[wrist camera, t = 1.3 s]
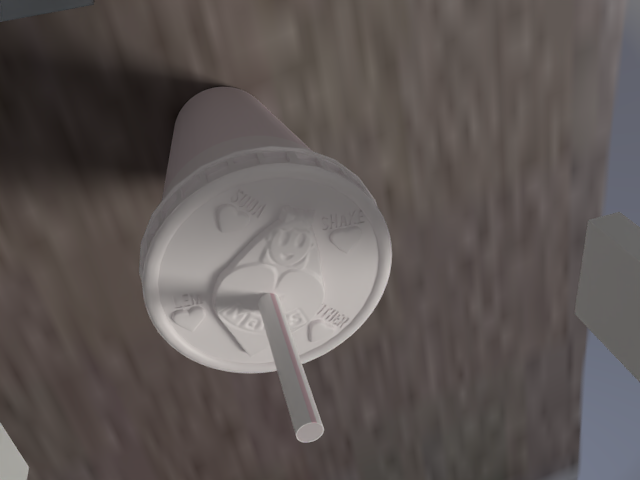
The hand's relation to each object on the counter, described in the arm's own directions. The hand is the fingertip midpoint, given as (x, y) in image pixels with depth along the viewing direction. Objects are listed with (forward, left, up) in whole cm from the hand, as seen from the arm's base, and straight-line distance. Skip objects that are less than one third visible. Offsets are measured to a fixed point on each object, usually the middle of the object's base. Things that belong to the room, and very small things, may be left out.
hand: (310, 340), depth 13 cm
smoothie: (0, 0, -12) cm, 12 cm away
